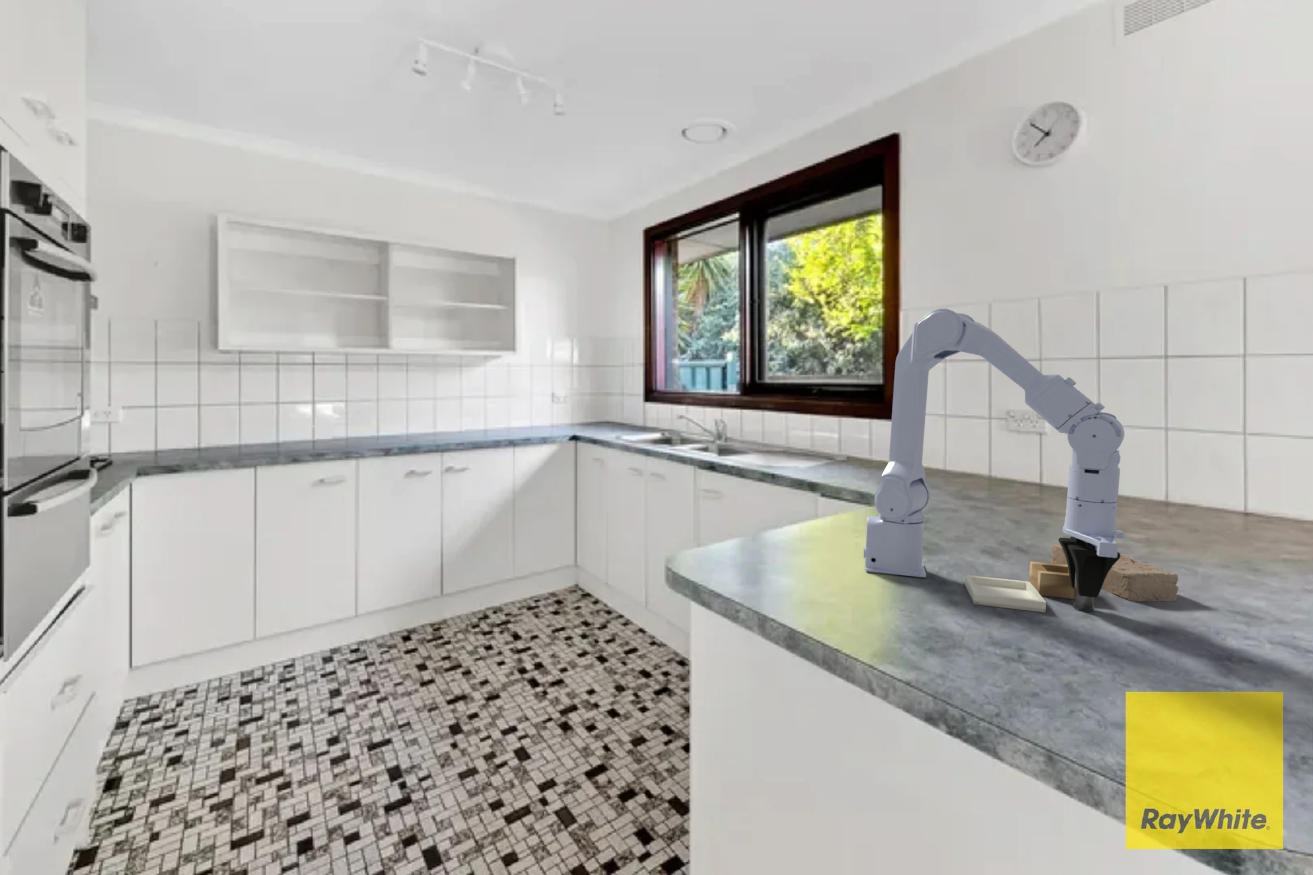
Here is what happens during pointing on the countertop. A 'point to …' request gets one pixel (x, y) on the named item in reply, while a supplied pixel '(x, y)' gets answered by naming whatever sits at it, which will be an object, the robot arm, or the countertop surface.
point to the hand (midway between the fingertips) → (1084, 592)
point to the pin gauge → (1082, 601)
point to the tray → (1004, 593)
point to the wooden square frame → (1051, 579)
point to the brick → (1133, 579)
